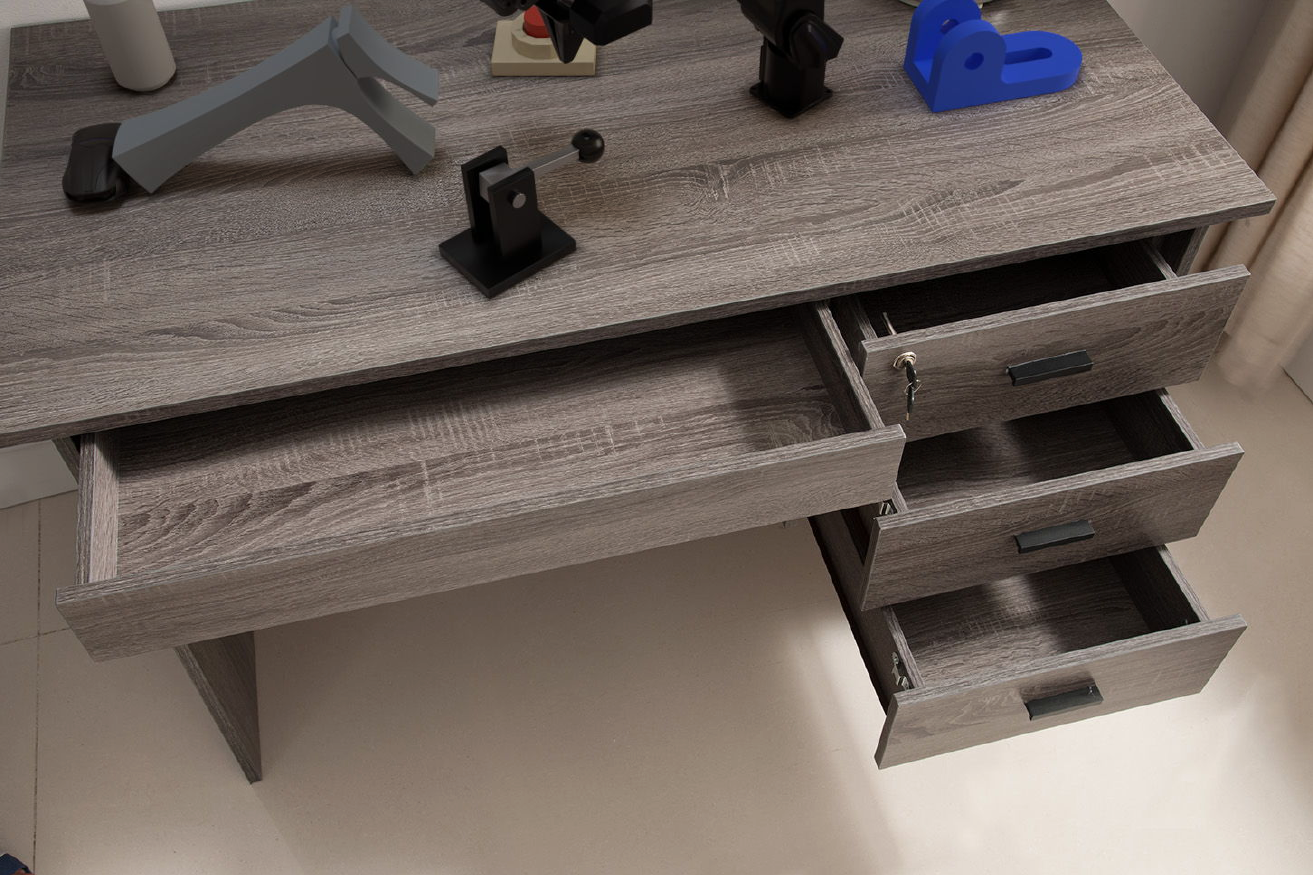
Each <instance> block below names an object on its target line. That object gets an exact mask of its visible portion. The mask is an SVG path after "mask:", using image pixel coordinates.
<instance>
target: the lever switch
mask: <svg viewBox="0 0 1313 875" xmlns="http://www.w3.org/2000/svg"><path fill="white" fill-rule="evenodd" d="M502 163H506V164H507V165H508V166H509V167H510V163H509V155H508V150H507V149H506V148H505V147H504V146H502V145H501V144H499V145H498V146H496V147H493V148H491V149H490V150H487V151H486V152H483V153H482V154H480V155H478V156H476V157H473V158H471V159H470V160H468V161H466V162H464V163H462V164H461V165H460V172H461V177H462V178H461V179H462V184H463V191H464V197H465V203H466V209H467V215H468V222H469V227H467V229H464V230H463V231H461V232H458V233H457V234H455V235H452V236H451V237H450V238H448V239H446V240H444V241H442V242H440V243H439V244H438V251H439V254H440V255H441V256H442V257H443V258H444V259H445V260H446V261H447V262H448V263H449V264H450V265H451V266H453V267H454V268H455V269H456V270H457V271H458V272H460V273H461V274H462V276H464V277H465V279H467V280H468V281H469V282H470V283H471V284H473V285H474V286H475V287H476V288H477V289H478V290H479V291H480V292H481V293H483V294H484V295H485V296H486V297H487V298H488V299H489V300H491V299H493V298H495V297H497V296H498V295H500V294H502V293H504V292H505V291H507V290H508V289H511V288H512V287H514V286H515V285H517V284H519V283H522V282H523V281H525V280H527V278H530V277H532V276H534V275H535V274H537V273H538V272H540V271H542V270H544V269H546V268H548V267H549V266H551V265H554V263H556V262H558V261H560V260H562V259H563V258H565V257H566V256H568V255H570V254H572V253H574V252H576V251H577V240H576V239H575V238H573V237H572V236H571V235H570V234H569V233H567V231H565V230H564V229H562V228H561V226H559V225H558V224H556V223H555V222H554V221H553V220H552V219H551V218H549V217H548V216H547V215H546V214H544V213H543V212H542V211H541V210H539V203H538V195H537V186H536V185H537V184H536V178H535V175H534V171H533V170H531V169H530V168H529V167H525V168H523V169H522V170H520V171H518V172H516V173H514V174H512V175H510V176H508V177H506V178H504V179H503V180H501V181H499V182H497V183H495V184H493V185H491V186H489V187H487V192H488V199H489V202H488V201H487V200H485V199H484V198H483V197H482V196H481V195H480V185H479V173H480V172H483V171H485V170H488V169H490V168H492V167H495V166H497V165H499V164H502Z"/></svg>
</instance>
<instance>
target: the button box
mask: <svg viewBox="0 0 1313 875" xmlns="http://www.w3.org/2000/svg"><path fill="white" fill-rule="evenodd" d="M525 12H526V11H523V12H521V13H520V15H518V16H517V17H516V18H515V19H514V20H497V22H496V28H495V34H494V35H495V36H494V42H493V48H492V55H491V60H490V65H491V73H492V76H493V77H513V76H514V77H540V76H541V77H542V76H543V77H545V76H549V77H550V76H551V77H553V76H555V77H556V76H557V77H558V76H566V77H568V76H570V77H571V76H573V77H574V76H576V77H577V76H578V77H580V76H584V77H585V76H586V77H587V76H595V73H596V58H597V46H596V45H594V44H592V43H591V42H589V41H588V40H587V39H585V38H584V40H583V42H582V44H581V46H580V48H579V50H578V52H577V54H576V57H575V59H574V60H573V61H572V62H570V63H568V64H564V63H563V62H561V61H560V60H559V58H558V55H557V53H556V51H555V48H554V46H553V43H552V41H551V39H550V38H533V37H531V36H528V35H527V34H526V32H525V25H524V13H525Z"/></svg>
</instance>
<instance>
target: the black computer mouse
mask: <svg viewBox="0 0 1313 875" xmlns="http://www.w3.org/2000/svg"><path fill="white" fill-rule="evenodd" d="M121 124H122V122H106V123H104V122H103V123H99V124H93V125H89V126H85V127H82V128H79V129H77V130H76V131H75V132H74V133H73V134H72V138H71V144H70V146H71V150H70V153H69V157H68V160H67V164H66V168H65V171H64V174H63V175H62V179H61V188H62V192H63V194H64V196H65V198H66V199H67V201H68V202H69V204H72V205H75V206H76V205H77V206H92V205H99V204H104V203H108V202H111V201H114V200H116V199H117V198H119V197H121V196H122V195H124V194H129V193H130V182H129V178H128V173H127V172H126V171H125V170H124V169H123V168H122V167H121V166H120V165H119V164H118V163H117V162H116V161H115V160H114V159H113V158H112V154H113V147H114V142H115V138H116V135H117V132H118V130H119V128H120V126H121Z"/></svg>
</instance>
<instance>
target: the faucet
mask: <svg viewBox="0 0 1313 875" xmlns="http://www.w3.org/2000/svg"><path fill="white" fill-rule="evenodd" d="M440 74H441V73H440V70H437V69H436V68H433V67H432V66H429V65H428V64H425V63H423V62H421V61H420V60H417V59H415V58H414V57H412V56H410V55H409V54H407V53H405V52H404V51H402V50H400V49H398V48H397V47H396V46H394V45H393V44H392V43H390V42H389V41H387V40H386V39H385V38H384V37H383V36H382V35H380V33H378V32H377V31H376V30H375V28H374V27H373V26H372V25H371V24H370V23H369V22H368V21H367V19H365V17H364V16H363V15H362V14H361V12H360V11H359V9H357V7H356V6H355V5H354V4H353V3H350V4H348V5H346V6H345V7H343V8H341V9H340V10H339V17H338V20H337V19H336V18H335V17H334V15H333V14H330V15H329V16H328V17H327V18H325V19H324V20H323V21H321V22H320V23H319V24H318V25H316V26H315V27H313V28H312V29H311V30H309V31H307V33H305V34H304V35H302V36H301V37H300V38H298V39H296V40H295V41H294V42H292V43H291V44H289V45H288V46H286V47H284V48H283V49H281V50H279V51H278V52H276V53H274V54H273V55H271V56H269V57H268V58H266V59H264V60H263V61H261V62H259V63H258V64H255V65H254V66H252V67H251V68H249V69H246V70H245V71H243V72H241V73H240V74H238V75H235V76H233V77H231V78H229V79H228V80H226V81H224V82H221V83H219V84H217V85H215V86H213V87H211V88H208V89H207V90H204V91H202V92H199V93H197V94H195V95H193V96H190V97H188V98H185V99H183V100H180V101H177V102H176V103H173V104H171V105H168V106H166V107H164V108H161V109H158V110H155V111H152V112H149V113H145V114H141V115H139V116H135V117H131V118H126V119H123V121H122V122H121V123H122V124H121V126H120V128H119V130H118V132H117V135H116V138H115V142H114V147H113V154H112V158H113V159H114V160H115V161H116V162H117V163H118V164H119V165H120V166H121V167H122V168H123V169H124V170H125V171H126V172H127V175H128V176H130V177H131V178H132V179H133V180H134V181H135V182H136V183H137V184H138V185H140V186H141V187H142V188H143V189H145V191H147V192H148V193H150V194H153V193H154V192H155V191H156V190H157V189H158V188H159V187H161V186H162V184H164V183H166V181H168V180H169V179H170V178H171V177H172V176H174V175H175V174H176V173H178V172H179V171H181V170H182V169H183V168H185V167H186V166H188V165H189V164H191V163H192V162H193V161H195V160H196V159H198V158H200V157H201V156H203V155H204V154H206V153H207V152H209V151H210V150H211V149H213V148H215V147H217V146H218V145H220V144H221V143H223V142H225V141H227V140H228V139H230V138H232V137H233V136H235V135H236V134H238V133H240V132H242V131H244V130H246V129H247V128H249V127H250V126H253V125H255V124H257V123H258V122H261V121H262V120H265V119H267V118H269V117H272V116H274V115H276V114H279V113H281V112H282V113H283V112H285V111H288V110H292V109H295V108H300V107H305V106H326V107H327V106H328V107H332V108H336V109H339V110H342V111H344V112H345V113H348V114H350V115H352V116H354V117H355V118H357V119H358V120H359V121H361V122H362V123H363V124H365V125H366V126H367V127H368V128H370V129H371V130H372V131H373V132H374V133H375V134H376V135H378V136H379V138H381V139H382V140H383V141H384V143H385V144H386V145H388V147H389V148H390V149H391V150H392V151H393V152H394V153H395V155H396V156H397V157H398V158H399V159H400V160H401V161H402V162H403V164H404V165H406V167H407V168H408V169H409V170H410V171H411V173H412V175H414V176H417V175H418V174H419V173H420V172H421V171H422V170H423V169H424V168H425V167H426V166H427V165H428V164H429V163H430V162H431V161H432V160H433V159H434V158H435V150H436V149H435V148H436V129H437V128H436V127H435V126H434V125H433V124H431V123H430V122H428V121H427V120H426V119H424V118H423V117H421V116H420V115H419V114H417V113H416V112H415V111H413V110H412V109H410V108H409V107H407V105H405V104H404V103H403V102H401V101H400V100H399V99H398V98H396V96H394V95H393V94H392V93H391V92H390V91H389V90H387V88H386V87H384V85H382V84H381V83H380V81H378V80H377V79H381V80H384V81H386V82H388V83H390V84H392V85H395V86H396V87H399V88H400V89H403V90H405V91H406V92H408V93H410V94H412V95H413V96H415V97H416V98H418V99H420V100H421V101H422V102H424V103H425V104H427V105H428V106H430V107H431V108H434V106H436V104H437V103H438V102H439V95H440V94H439V93H440ZM376 78H377V79H376Z"/></svg>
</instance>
